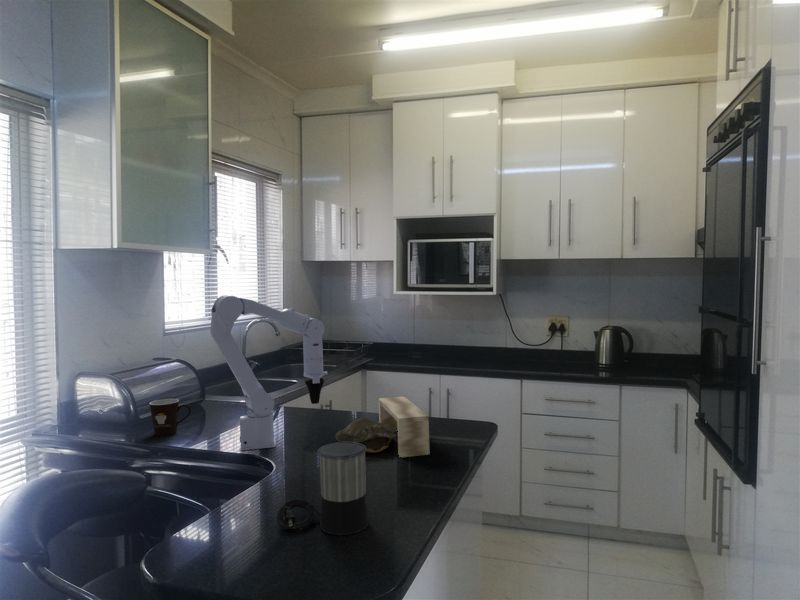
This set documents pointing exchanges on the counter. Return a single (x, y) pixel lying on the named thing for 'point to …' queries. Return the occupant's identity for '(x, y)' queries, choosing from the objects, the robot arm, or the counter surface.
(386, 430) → the turtle shell
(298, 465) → the counter surface
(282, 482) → the counter surface
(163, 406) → the coffee mug
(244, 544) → the counter surface
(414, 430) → the birch shelf
